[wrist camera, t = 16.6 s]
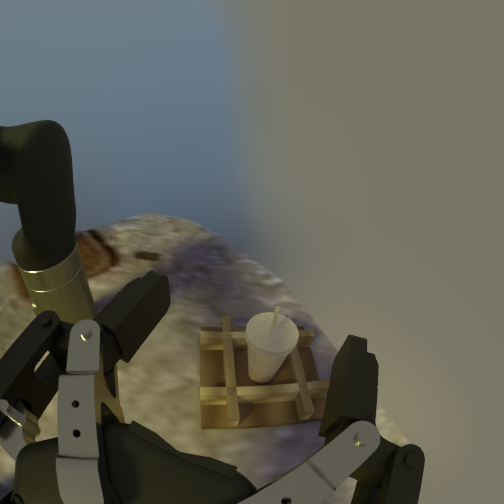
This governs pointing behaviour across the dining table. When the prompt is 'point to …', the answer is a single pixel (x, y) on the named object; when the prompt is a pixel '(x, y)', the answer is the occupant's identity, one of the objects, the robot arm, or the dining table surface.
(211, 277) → the dining table surface
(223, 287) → the dining table surface
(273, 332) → the smoothie
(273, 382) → the wooden grid tray
